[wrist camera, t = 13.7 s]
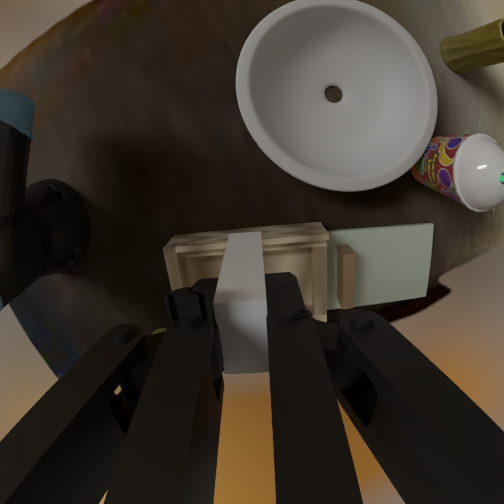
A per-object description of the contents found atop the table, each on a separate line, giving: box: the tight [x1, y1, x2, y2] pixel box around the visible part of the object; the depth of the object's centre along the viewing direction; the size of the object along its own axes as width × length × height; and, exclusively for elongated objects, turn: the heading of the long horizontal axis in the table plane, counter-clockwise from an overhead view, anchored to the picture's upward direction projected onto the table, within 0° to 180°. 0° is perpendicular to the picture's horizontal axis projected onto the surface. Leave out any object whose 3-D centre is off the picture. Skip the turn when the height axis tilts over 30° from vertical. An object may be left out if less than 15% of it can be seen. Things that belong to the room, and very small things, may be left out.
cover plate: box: [327, 223, 434, 310], centre depth 41 cm, size 17×12×5 cm
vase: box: [441, 19, 504, 74], centre depth 24 cm, size 6×6×14 cm
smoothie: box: [410, 133, 504, 212], centre depth 28 cm, size 8×8×20 cm
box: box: [163, 222, 329, 322], centre depth 41 cm, size 20×14×6 cm
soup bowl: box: [236, 0, 438, 192], centre depth 32 cm, size 24×24×7 cm
